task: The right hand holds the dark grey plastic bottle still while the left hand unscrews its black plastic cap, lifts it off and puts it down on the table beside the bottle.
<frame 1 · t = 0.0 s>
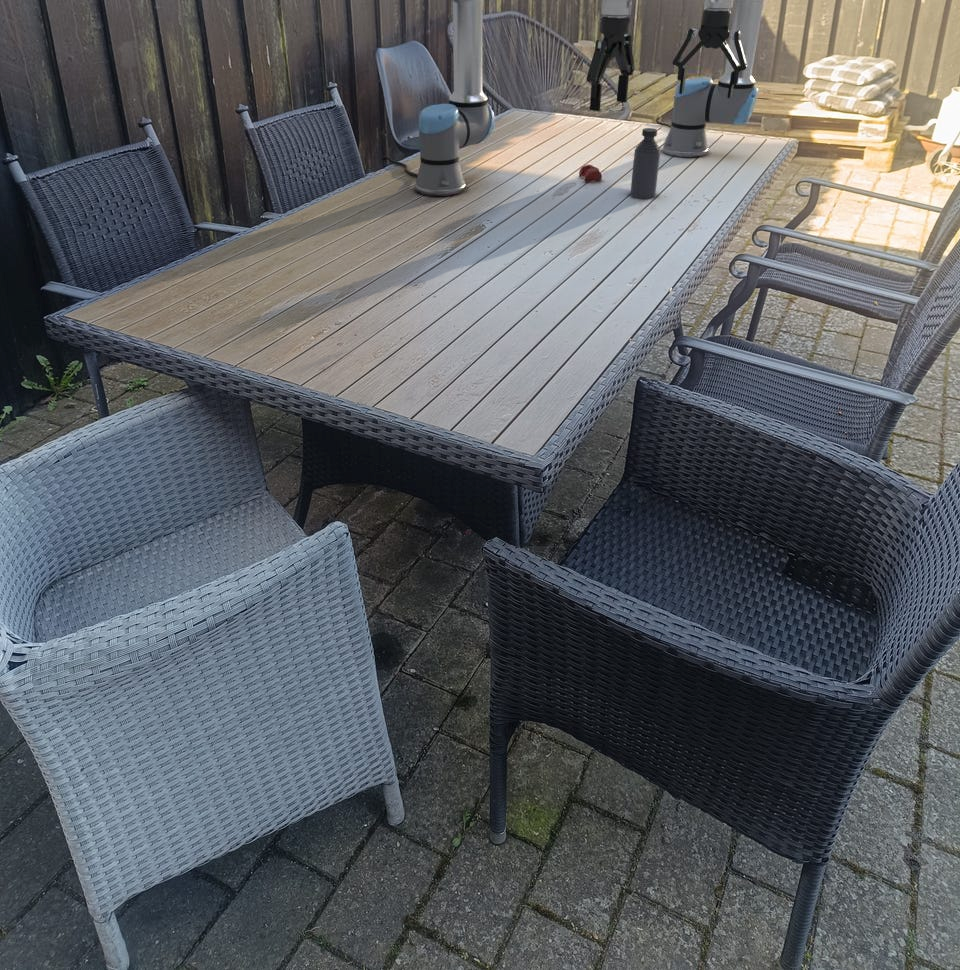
left hand: (608, 106, 226), 28 cm above the table, tool pointing down, fingers open, 13 cm apart
right hand: (705, 95, 237), 28 cm above the table, tool pointing down, fingers open, 13 cm apart
bottle: (642, 195, 254), on the table
dental model: (590, 179, 268), on the table
cap: (649, 130, 243), point 18 cm above the table, screwed on, not yet turned
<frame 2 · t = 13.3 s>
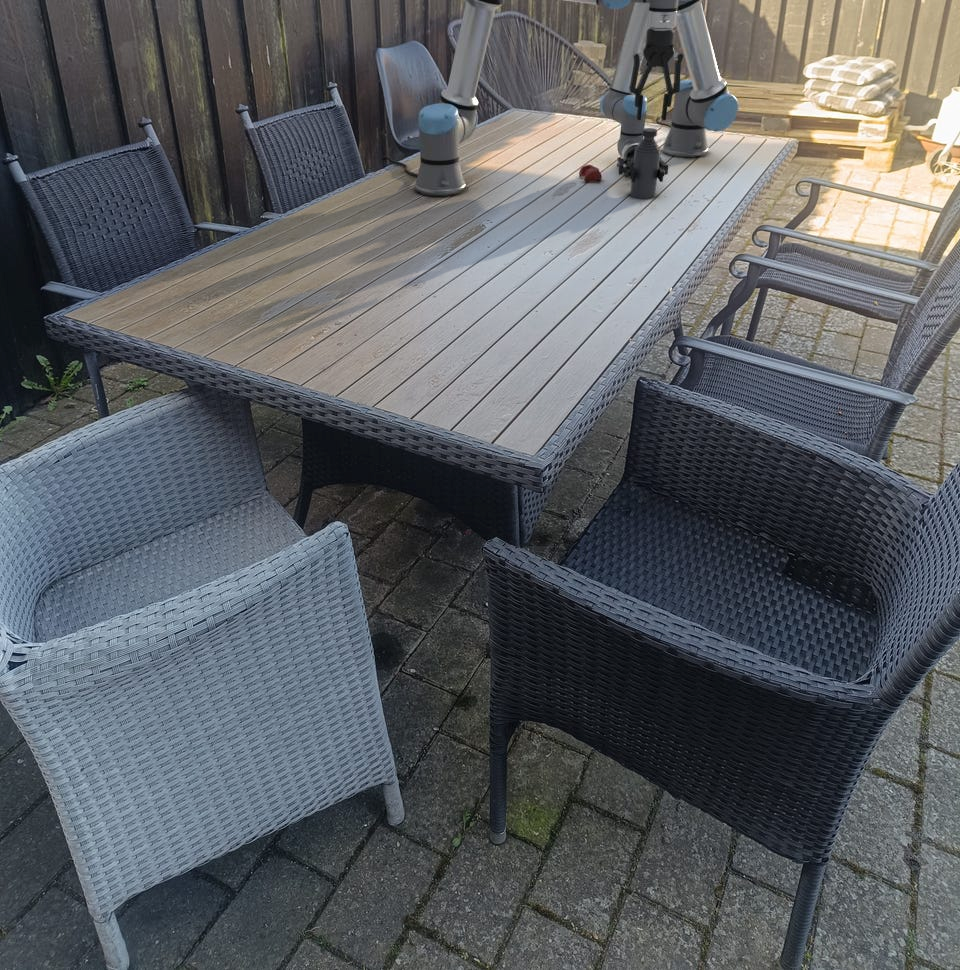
left hand: (651, 119, 242), 22 cm above the table, tool pointing down, fingers open, 6 cm apart
right hand: (648, 177, 246), 7 cm above the table, tool horizontal, fingers closed on bottle, 7 cm apart
bottle: (642, 195, 254), on the table, touching right hand
everything else where it was.
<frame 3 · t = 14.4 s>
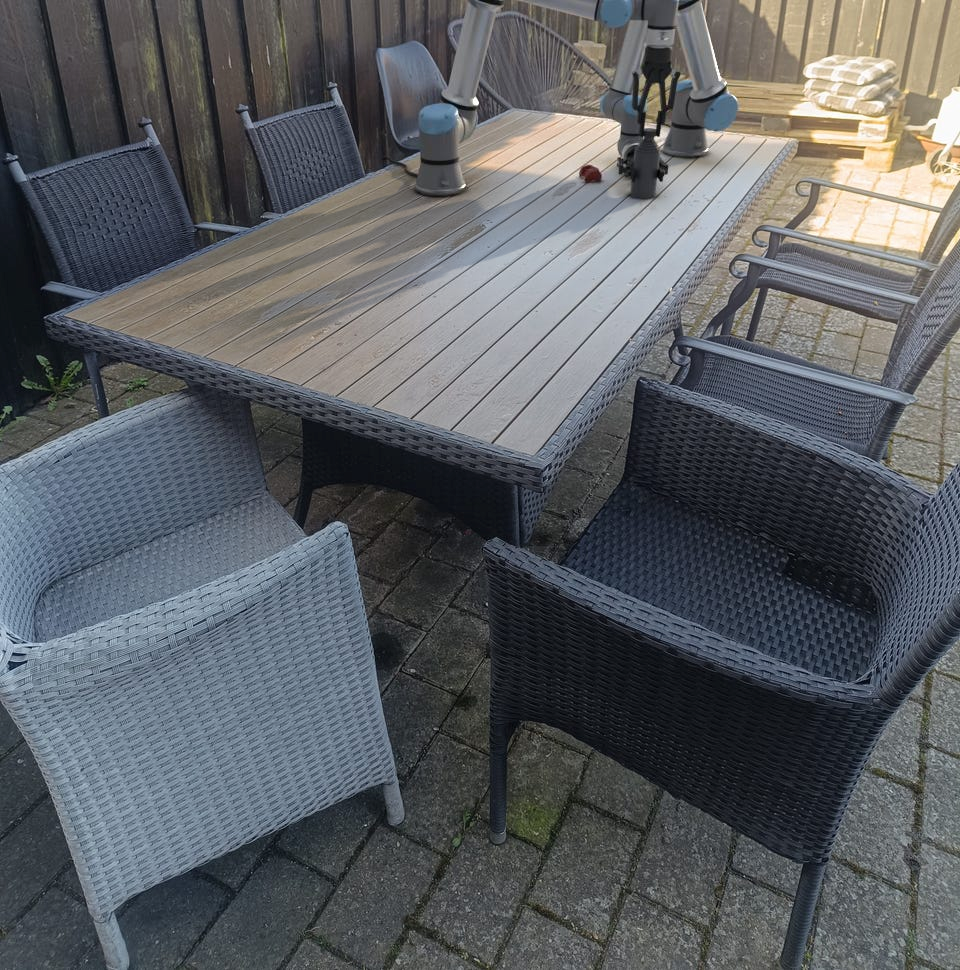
left hand: (649, 135, 244), 17 cm above the table, tool pointing down, fingers closed on cap, 4 cm apart
right hand: (648, 177, 246), 7 cm above the table, tool horizontal, fingers closed on bottle, 7 cm apart
bottle: (642, 195, 254), on the table, touching right hand
cap: (649, 130, 243), point 18 cm above the table, screwed on, not yet turned, touching left hand
everything else where it was.
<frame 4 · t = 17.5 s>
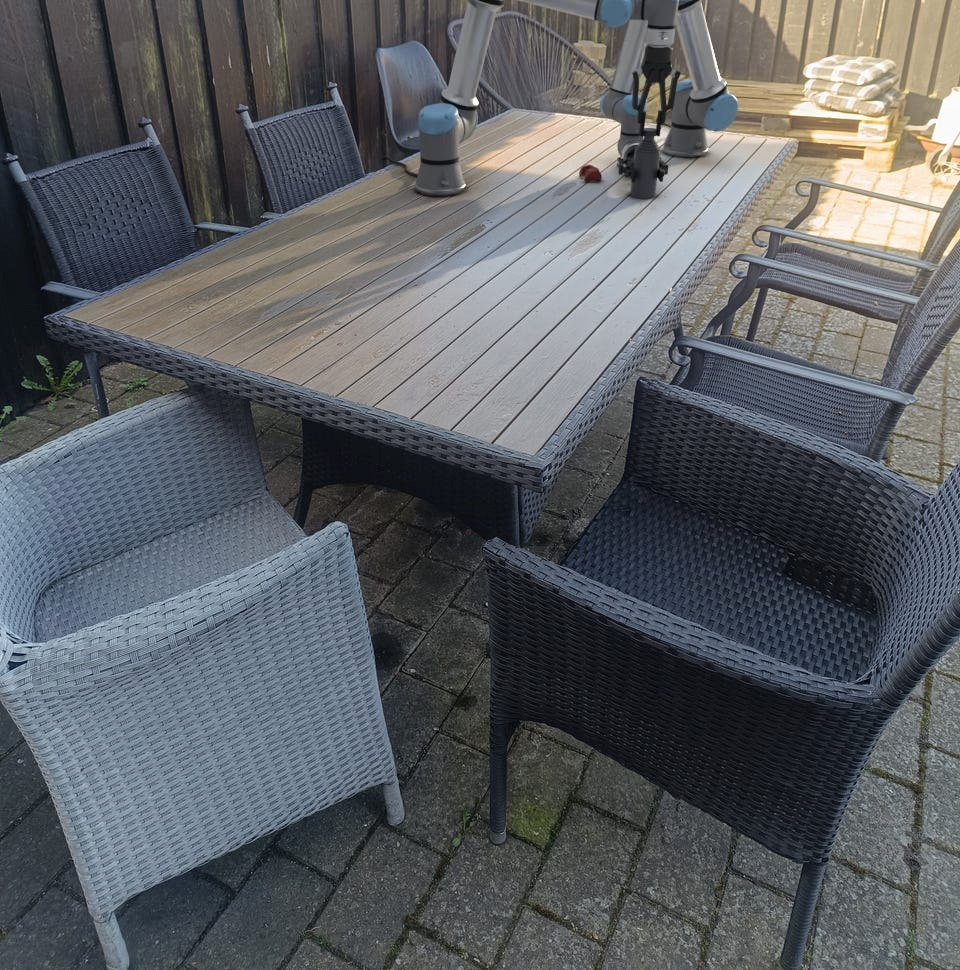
left hand: (649, 135, 244), 17 cm above the table, tool pointing down, fingers closed on cap, 4 cm apart
right hand: (648, 177, 246), 7 cm above the table, tool horizontal, fingers closed on bottle, 7 cm apart
bottle: (642, 195, 254), on the table, touching right hand
cap: (649, 130, 243), point 18 cm above the table, turned 84° so far, risen 0.1 cm, still on its thread, touching left hand
everything else where it was.
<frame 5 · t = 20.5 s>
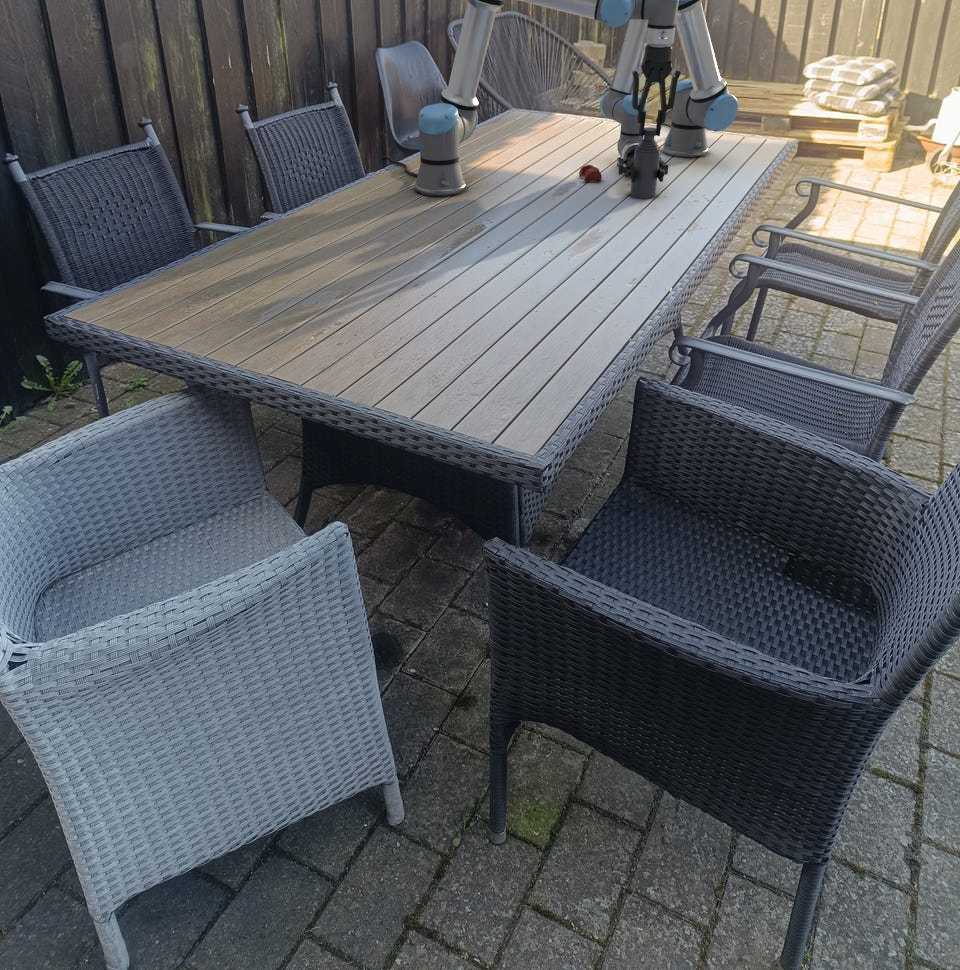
left hand: (649, 134, 244), 17 cm above the table, tool pointing down, fingers closed on cap, 4 cm apart
right hand: (648, 177, 246), 7 cm above the table, tool horizontal, fingers closed on bottle, 7 cm apart
bottle: (642, 195, 254), on the table, touching right hand
cap: (649, 130, 243), point 19 cm above the table, turned 169° so far, risen 0.2 cm, still on its thread, touching left hand
everything else where it was.
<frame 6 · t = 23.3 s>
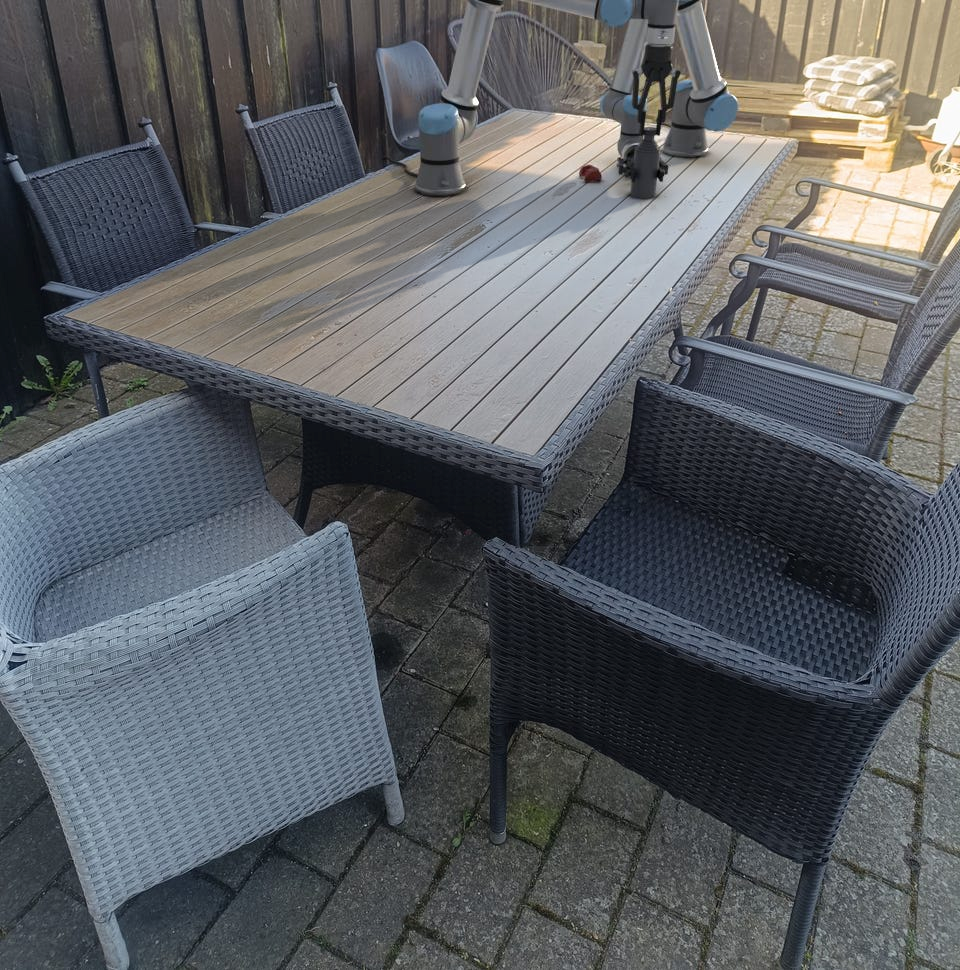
left hand: (649, 134, 244), 17 cm above the table, tool pointing down, fingers closed on cap, 4 cm apart
right hand: (648, 177, 246), 7 cm above the table, tool horizontal, fingers closed on bottle, 7 cm apart
bottle: (642, 195, 254), on the table, touching right hand
cap: (649, 129, 243), point 19 cm above the table, turned 253° so far, risen 0.3 cm, still on its thread, touching left hand
everything else where it was.
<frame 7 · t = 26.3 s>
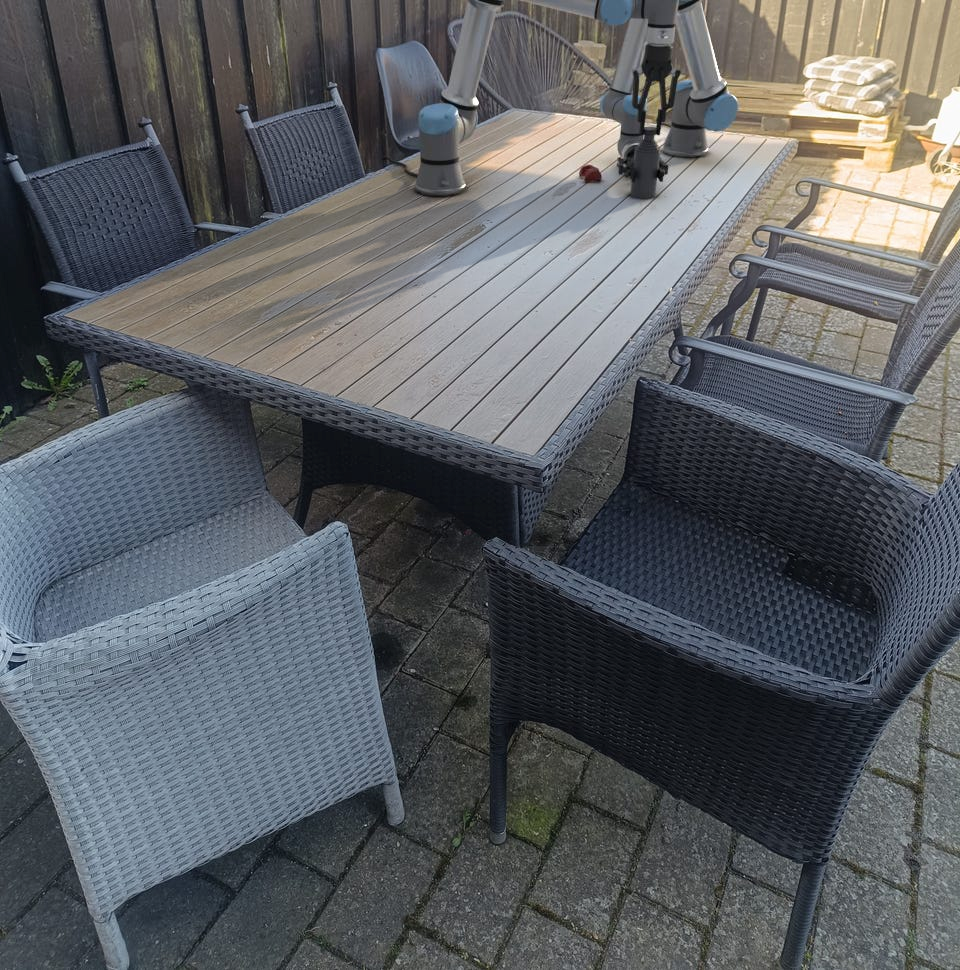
left hand: (649, 134, 244), 17 cm above the table, tool pointing down, fingers closed on cap, 4 cm apart
right hand: (648, 177, 246), 7 cm above the table, tool horizontal, fingers closed on bottle, 7 cm apart
bottle: (642, 195, 254), on the table, touching right hand
cap: (650, 129, 243), point 19 cm above the table, turned 337° so far, risen 0.4 cm, still on its thread, touching left hand
everything else where it was.
when the left hand's fingers open (2 cm above the table, at t = 36.8 s): cap drops 2 cm, point 1 cm above the table.
when the right hand's fingers open (7 cm above the table, at t = 38.1 s): bottle stays where it is, on the table.
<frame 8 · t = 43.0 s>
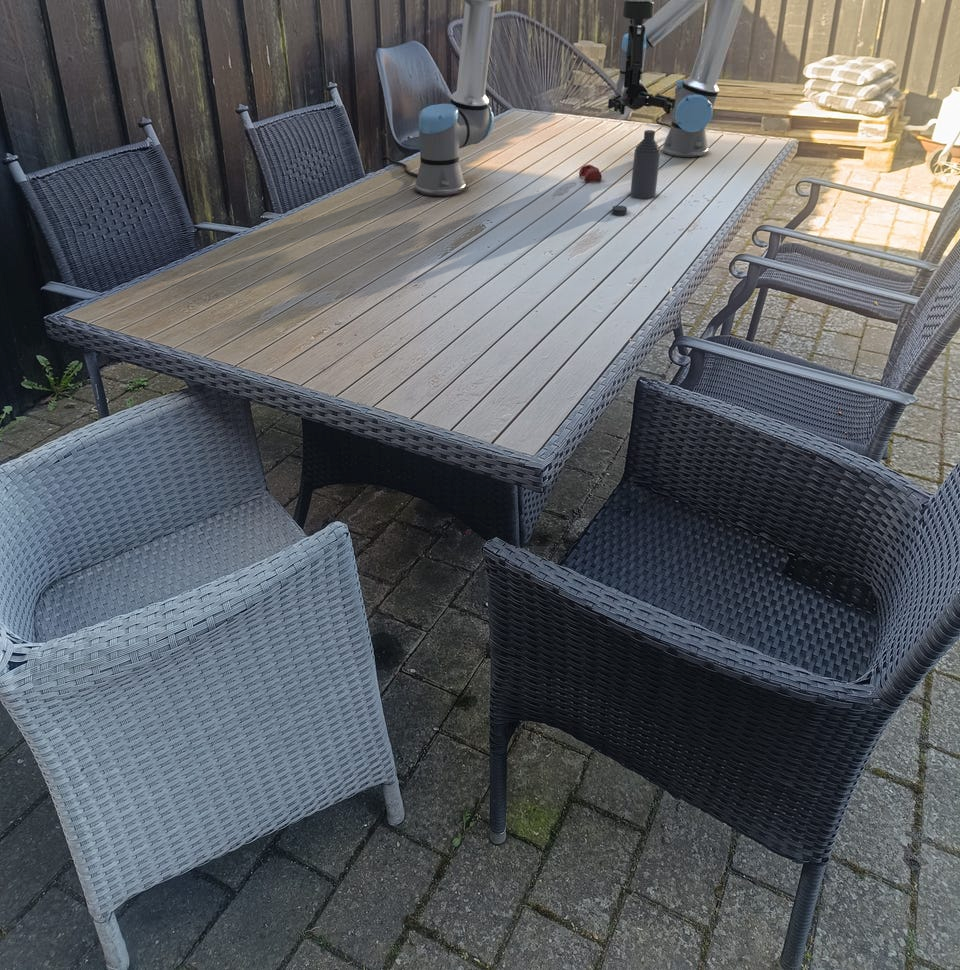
left hand: (630, 92, 222), 32 cm above the table, tool pointing down, fingers open, 13 cm apart
right hand: (646, 109, 248), 22 cm above the table, tool horizontal, fingers open, 13 cm apart
bottle: (642, 195, 254), on the table
cap: (619, 208, 240), point 1 cm above the table, off its thread
everything else where it was.
at the end: cap came off its thread; cap point 1.2 cm above the table; the left hand is holding nothing; the right hand is holding nothing; bottle tilted 0°; bottle moved 0.0 cm from its start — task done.
